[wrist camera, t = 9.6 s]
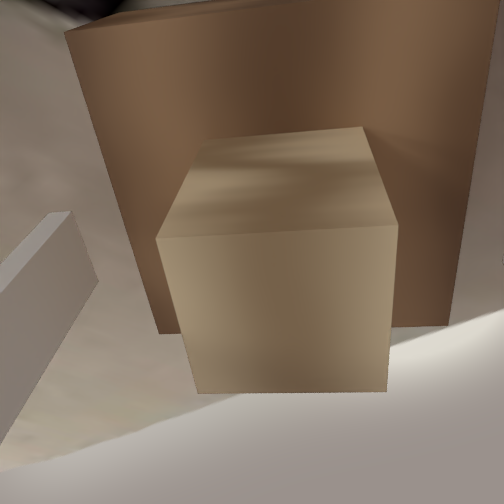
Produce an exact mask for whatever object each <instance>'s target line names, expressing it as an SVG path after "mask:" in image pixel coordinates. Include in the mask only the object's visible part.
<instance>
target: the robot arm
mask: <svg viewBox="0 0 504 504" xmlns="http://www.w3.org/2000/svg"><path fill="white" fill-rule="evenodd" d="M502 263H503V265H504V256H503V260H502ZM97 283H98V279H97V276H96V273H95V271H94V268H93V266H92V263H91V260H90V258H89V255H88V252H87V250H86V247H85V245H84V242H83V239H82V237H81V234H80V232H79V229H78V226H77V224H76V221H75V219H74V216H73V213H72V211H67V212H53V213H48V214H47V215H46V216H45V217H44V219H43V220H42V221H41V222H40V223H39V224H38V225H37V226H36V227H35V228H34V229H33V230H32V231H31V232H30V233H29V234H28V235H27V237H26V238H25V239H24V240H23V241H22V242H21V243H20V244H19V245H18V246H17V247H16V248H15V249H14V250H13V251H12V252H11V253H10V254H9V256H8V257H7V258H6V259H5V260H4V261H3V262H2V263H1V264H0V444H1V443H2V441H3V439H4V438H5V436H6V434H7V433H8V431H9V429H10V428H11V426H12V424H13V423H14V421H15V419H16V418H17V416H18V414H19V413H20V411H21V409H22V408H23V406H24V404H25V403H26V401H27V399H28V398H29V396H30V394H31V393H32V391H33V389H34V388H35V386H36V384H37V383H38V381H39V379H40V378H41V376H42V374H43V373H44V371H45V369H46V368H47V366H48V364H49V363H50V361H51V359H52V358H53V356H54V354H55V353H56V351H57V349H58V348H59V346H60V345H61V343H62V341H63V340H64V338H65V336H66V335H67V333H68V331H69V330H70V328H71V326H72V325H73V323H74V321H75V320H76V318H77V316H78V315H79V313H80V311H81V310H82V308H83V306H84V305H85V303H86V301H87V300H88V298H89V296H90V295H91V293H92V291H93V290H94V288H95V286H96V285H97Z"/></svg>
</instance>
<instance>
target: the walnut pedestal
mask: <svg viewBox="0 0 504 504" xmlns="http://www.w3.org/2000/svg"><path fill="white" fill-rule="evenodd" d="M499 3H500V0H211V1H203V2H195V3H188V4H180V5H173V6H165V7H157V8H150V9H142V10H134V11H127V12H120V13H117V14H114V15H111V16H108V17H105V18H103V19H100V20H97V21H94V22H91V23H88V24H85V25H83V26H80V27H77V28H74V29H71V30H68V31H65V32H64V35H65V38H66V41H67V44H68V47H69V50H70V54H71V57H72V60H73V63H74V66H75V69H76V73H77V76H78V79H79V82H80V85H81V88H82V92H83V95H84V98H85V101H86V104H87V107H88V111H89V114H90V117H91V120H92V123H93V126H94V130H95V133H96V136H97V139H98V142H99V145H100V149H101V152H102V155H103V158H104V161H105V164H106V168H107V171H108V174H109V177H110V180H111V183H112V187H113V190H114V193H115V196H116V199H117V202H118V206H119V209H120V212H121V215H122V218H123V221H124V225H125V228H126V231H127V234H128V237H129V240H130V244H131V247H132V250H133V253H134V256H135V259H136V262H137V266H138V269H139V272H140V275H141V278H142V281H143V285H144V288H145V291H146V294H147V297H148V300H149V304H150V307H151V310H152V313H153V316H154V319H155V323H156V326H157V329H158V332H159V334H181V330H180V326H179V323H178V319H177V315H176V312H175V308H174V304H173V301H172V297H171V293H170V290H169V286H168V283H167V279H166V275H165V272H164V268H163V264H162V261H161V257H160V253H159V250H158V246H157V242H156V237H157V235H158V232H159V230H160V228H161V226H162V224H163V222H164V220H165V218H166V216H167V214H168V212H169V210H170V208H171V206H172V204H173V202H174V200H175V198H176V196H177V194H178V192H179V190H180V188H181V186H182V184H183V182H184V180H185V178H186V176H187V174H188V172H189V169H190V167H191V165H192V163H193V161H194V159H195V157H196V155H197V153H198V151H199V149H200V147H201V145H202V143H203V141H204V140H211V139H223V138H235V137H246V136H258V135H270V134H281V133H293V132H305V131H317V130H328V129H340V128H352V127H363V130H364V133H365V135H366V138H367V141H368V143H369V146H370V149H371V152H372V154H373V157H374V160H375V163H376V165H377V168H378V171H379V173H380V176H381V179H382V182H383V184H384V187H385V190H386V192H387V195H388V198H389V201H390V203H391V206H392V209H393V211H394V214H395V217H396V220H397V222H398V239H397V253H396V267H395V281H394V295H393V309H392V323H391V327H421V326H448V323H449V316H450V310H451V304H452V298H453V291H454V285H455V279H456V273H457V266H458V260H459V254H460V248H461V241H462V235H463V229H464V222H465V216H466V210H467V204H468V197H469V191H470V185H471V179H472V172H473V166H474V160H475V154H476V147H477V141H478V135H479V128H480V122H481V116H482V110H483V103H484V97H485V91H486V85H487V78H488V72H489V66H490V60H491V53H492V47H493V41H494V34H495V28H496V22H497V16H498V9H499Z"/></svg>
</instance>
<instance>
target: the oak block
mask: <svg viewBox="0 0 504 504" xmlns="http://www.w3.org/2000/svg"><path fill="white" fill-rule="evenodd" d="M397 239H398V222H397V220H396V217H395V214H394V211H393V209H392V206H391V203H390V201H389V198H388V195H387V192H386V190H385V187H384V184H383V182H382V179H381V176H380V173H379V171H378V168H377V165H376V163H375V160H374V157H373V154H372V152H371V149H370V146H369V143H368V141H367V138H366V135H365V133H364V130H363V127H352V128H340V129H328V130H317V131H305V132H293V133H281V134H270V135H258V136H246V137H235V138H223V139H211V140H204V141H203V143H202V145H201V147H200V149H199V151H198V153H197V155H196V157H195V159H194V161H193V163H192V165H191V167H190V169H189V172H188V174H187V176H186V178H185V180H184V182H183V184H182V186H181V188H180V190H179V192H178V194H177V196H176V198H175V200H174V202H173V204H172V206H171V208H170V210H169V212H168V214H167V216H166V218H165V220H164V222H163V224H162V226H161V228H160V230H159V232H158V235H157V237H156V242H157V246H158V250H159V253H160V257H161V261H162V264H163V268H164V272H165V275H166V279H167V283H168V286H169V290H170V293H171V297H172V301H173V304H174V308H175V312H176V315H177V319H178V323H179V326H180V330H181V334H182V337H183V341H184V344H185V348H186V352H187V355H188V359H189V363H190V366H191V370H192V374H193V377H194V381H195V385H196V388H197V392H198V394H218V393H331V392H333V393H335V392H387V379H388V365H389V350H390V337H391V323H392V309H393V295H394V281H395V267H396V253H397Z"/></svg>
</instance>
